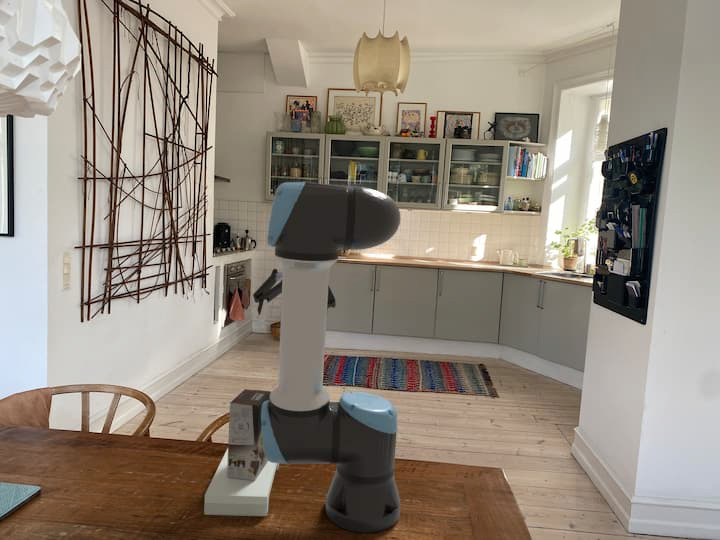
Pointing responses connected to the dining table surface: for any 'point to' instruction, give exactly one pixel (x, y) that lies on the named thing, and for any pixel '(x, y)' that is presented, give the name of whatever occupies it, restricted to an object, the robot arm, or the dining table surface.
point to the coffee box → (246, 435)
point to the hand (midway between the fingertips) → (289, 327)
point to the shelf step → (239, 492)
